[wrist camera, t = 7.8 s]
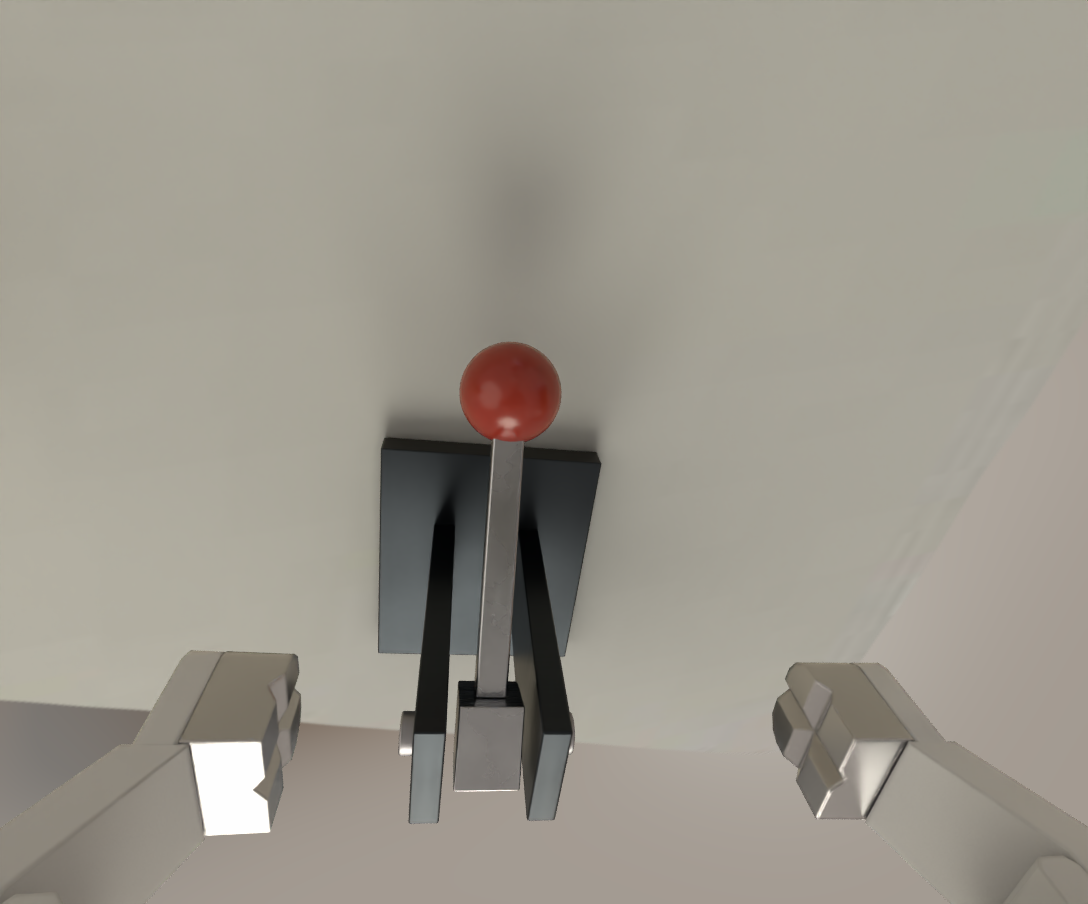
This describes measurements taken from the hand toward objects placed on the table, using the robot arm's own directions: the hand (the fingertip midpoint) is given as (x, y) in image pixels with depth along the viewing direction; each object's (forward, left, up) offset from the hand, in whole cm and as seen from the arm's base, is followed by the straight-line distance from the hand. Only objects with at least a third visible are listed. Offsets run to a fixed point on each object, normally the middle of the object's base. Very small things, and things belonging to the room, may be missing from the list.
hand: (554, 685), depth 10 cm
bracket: (+5, +9, -19) cm, 22 cm away
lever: (+3, +5, -12) cm, 14 cm away
